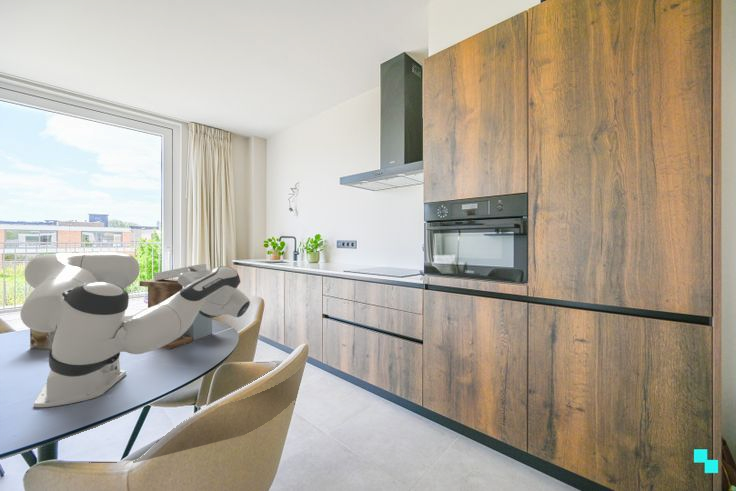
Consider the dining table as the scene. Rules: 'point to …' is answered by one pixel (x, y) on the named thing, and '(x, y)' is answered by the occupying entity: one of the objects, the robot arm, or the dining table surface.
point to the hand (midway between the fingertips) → (192, 268)
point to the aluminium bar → (178, 272)
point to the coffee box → (41, 339)
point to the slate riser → (199, 327)
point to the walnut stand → (160, 293)
